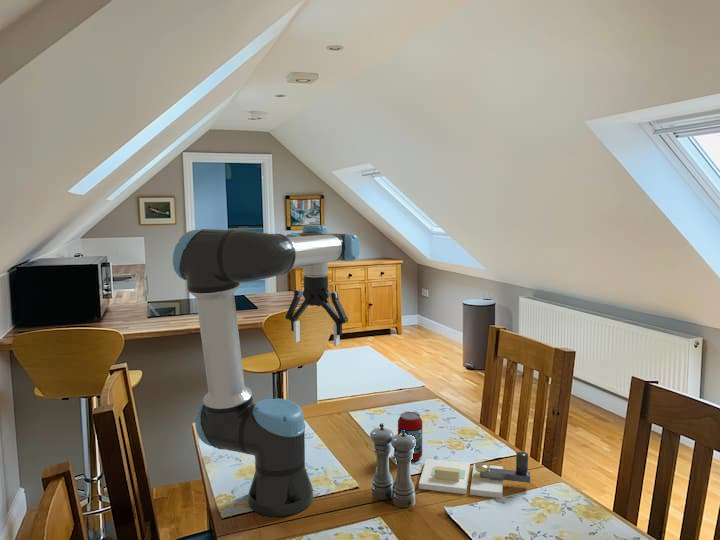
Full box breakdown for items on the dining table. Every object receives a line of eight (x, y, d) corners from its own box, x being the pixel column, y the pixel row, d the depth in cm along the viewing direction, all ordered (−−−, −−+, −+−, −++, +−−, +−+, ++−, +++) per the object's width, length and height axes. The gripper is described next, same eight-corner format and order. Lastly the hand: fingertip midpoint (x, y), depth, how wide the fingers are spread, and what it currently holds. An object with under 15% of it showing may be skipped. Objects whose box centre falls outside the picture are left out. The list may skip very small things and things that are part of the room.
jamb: (502, 498, 137) (502, 491, 137) (470, 494, 139) (470, 487, 139) (502, 471, 151) (503, 465, 150) (473, 468, 152) (473, 462, 152)
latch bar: (474, 477, 144) (475, 452, 143) (475, 471, 147) (475, 446, 146) (530, 483, 140) (530, 458, 139) (529, 477, 144) (530, 451, 143)
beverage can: (402, 463, 155) (402, 421, 154) (394, 453, 162) (394, 412, 160) (426, 460, 157) (426, 418, 156) (417, 450, 164) (417, 409, 162)
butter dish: (466, 494, 139) (466, 479, 139) (418, 488, 142) (418, 473, 142) (469, 468, 153) (470, 454, 152) (426, 463, 155) (426, 450, 155)
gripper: (358, 275, 175) (358, 344, 178) (285, 272, 184) (286, 337, 187) (348, 278, 168) (349, 349, 171) (273, 275, 177) (275, 342, 180)
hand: (316, 343), depth 179 cm, fingers open, 13 cm apart
